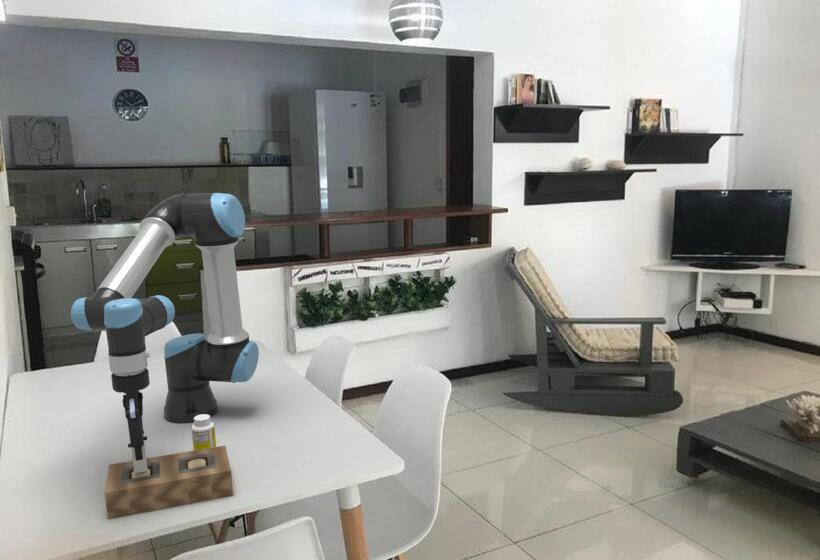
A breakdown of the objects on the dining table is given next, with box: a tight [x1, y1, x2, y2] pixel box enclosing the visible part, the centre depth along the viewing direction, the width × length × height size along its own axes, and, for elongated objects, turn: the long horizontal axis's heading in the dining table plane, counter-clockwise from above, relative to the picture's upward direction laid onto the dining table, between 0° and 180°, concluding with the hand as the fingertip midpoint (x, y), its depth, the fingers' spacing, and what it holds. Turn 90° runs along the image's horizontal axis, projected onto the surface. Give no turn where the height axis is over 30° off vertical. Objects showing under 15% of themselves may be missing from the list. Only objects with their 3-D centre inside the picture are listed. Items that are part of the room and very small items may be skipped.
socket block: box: [104, 445, 234, 520], centre depth 156 cm, size 26×14×6 cm, turn 110°
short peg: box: [188, 459, 206, 469], centre depth 158 cm, size 4×4×6 cm
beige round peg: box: [132, 469, 150, 479], centre depth 154 cm, size 4×4×6 cm
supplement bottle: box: [191, 414, 217, 451], centre depth 174 cm, size 6×6×10 cm
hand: (140, 470), depth 153 cm, fingers closed
